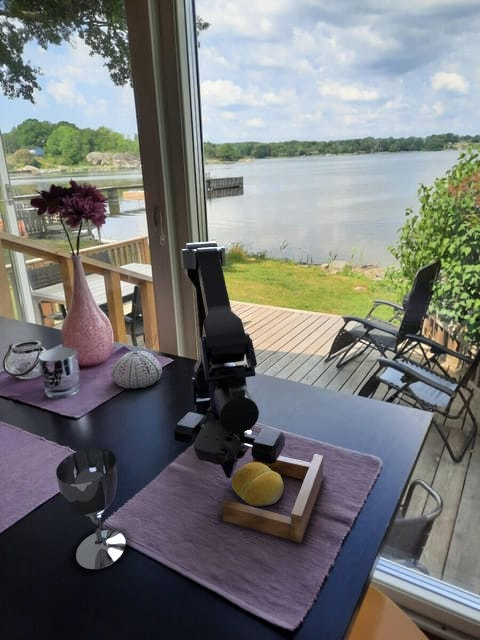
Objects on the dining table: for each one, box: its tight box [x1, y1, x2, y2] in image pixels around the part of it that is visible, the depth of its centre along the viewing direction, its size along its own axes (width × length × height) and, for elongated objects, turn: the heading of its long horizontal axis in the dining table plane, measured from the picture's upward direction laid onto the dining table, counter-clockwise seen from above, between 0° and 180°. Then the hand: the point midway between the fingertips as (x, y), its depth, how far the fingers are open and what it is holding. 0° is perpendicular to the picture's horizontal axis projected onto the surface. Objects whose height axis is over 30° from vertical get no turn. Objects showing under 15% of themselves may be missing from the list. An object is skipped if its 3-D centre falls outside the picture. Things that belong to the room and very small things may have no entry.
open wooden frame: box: [221, 453, 324, 543], centre depth 74 cm, size 13×15×5 cm
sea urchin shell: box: [110, 350, 163, 390], centre depth 117 cm, size 13×14×8 cm
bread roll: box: [231, 461, 284, 507], centre depth 76 cm, size 8×9×4 cm
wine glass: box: [55, 447, 127, 570], centre depth 63 cm, size 8×8×15 cm
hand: (229, 476), depth 78 cm, fingers closed
